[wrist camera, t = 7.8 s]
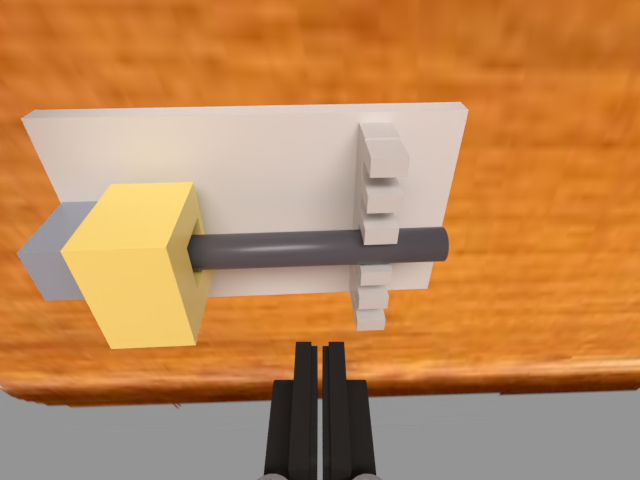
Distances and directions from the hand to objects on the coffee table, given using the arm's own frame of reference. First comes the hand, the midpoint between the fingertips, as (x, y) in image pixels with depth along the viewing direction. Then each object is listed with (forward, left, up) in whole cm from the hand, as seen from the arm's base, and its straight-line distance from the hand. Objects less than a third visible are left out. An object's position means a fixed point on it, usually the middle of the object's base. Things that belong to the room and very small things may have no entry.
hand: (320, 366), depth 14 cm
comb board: (+3, +1, -11) cm, 12 cm away
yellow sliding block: (+8, +1, -9) cm, 12 cm away
